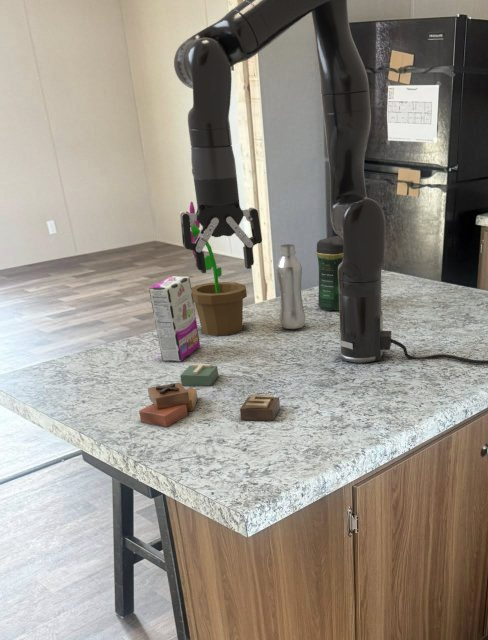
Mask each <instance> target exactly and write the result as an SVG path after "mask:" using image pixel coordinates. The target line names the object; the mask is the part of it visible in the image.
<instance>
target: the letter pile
mask: <svg viewBox="0 0 488 640" xmlns="http://www.w3.org/2000/svg"><path fill="white" fill-rule="evenodd" d="M147 393H148V398H149V400H150V402H151V403H152V404H150V405H148V406H146V407H144V408H141V409H139V411H138V414H139V418H140V419H139V420H140V422H141V423H145V424H150V425H154V426H160V427H164V428H168V427H170V426H171V425H173V424H175V423H176V422H178V421H181V420H182V419H184V418H185V417H187V416H188V412H193V411H194V410H195V407H196V405H197V402H198V391H197V388H185V387H184V385H182V383H181V382H179V381H178V382H173V383H172V382H171V383H168V384H162V385H157V386H153V387H148V388H147Z"/></svg>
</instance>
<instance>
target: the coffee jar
mask: <svg viewBox="0 0 488 640" xmlns="http://www.w3.org/2000/svg"><path fill="white" fill-rule="evenodd" d="M316 258H317V263H318V298H317V299H318V308H320V309H322V310H324V311H329V312H331V311H339V291H338V266H339V264H340V263H341V262H342V260H343V240H342V239H341V238H340V237H339V236H338V235H334V236H330V237H326V238H321V239H319V240H318V241H317V243H316Z"/></svg>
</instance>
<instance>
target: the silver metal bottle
mask: <svg viewBox="0 0 488 640" xmlns="http://www.w3.org/2000/svg"><path fill="white" fill-rule="evenodd" d="M295 246H296V245H295V244H291V243H289V244H288V243H287V244H280V245H279V255H280V257H279V259H278V261H277V263H276V265H275V273H276V279H277V284H278V289H279V296H280V297H279V298H280V300H279V301H280V302H279V303H280V307H279V308H280V311H279V322H280V325H281V326H282V328H284V329H287V330H296V329H301V328H303V327H304V326H305V324H306V312H305V309H304V304H303V298H302V275H303V268H302V264H301V262H300V261H299V259H298V258H297V257H296V247H295Z"/></svg>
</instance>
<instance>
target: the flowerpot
mask: <svg viewBox="0 0 488 640" xmlns="http://www.w3.org/2000/svg"><path fill="white" fill-rule="evenodd" d="M185 213H186V214H196V208H195V205H194V202H193V201H190V203H189V212H188V211H187V210H186V211H185ZM200 226H201V224H200V223H199V222H198V221H197V220H195V221H194V225H193V226H191V227H190V229H191V241H192V242H193V243H195V241H196V240H197V238H198V235H199V233H200V231H201V229H200ZM205 247H206V248H207V252H208V255H206V256H204V259H205V266H206V271H209V270H212V272H213V281H214V282H207V283H203V284H198V285H194V286H191V290H192V297H193V303H194V306H195V308H196V309H195V310H196V311H197V317H198V320H199V324H200V327H201V331H202V333H203V334H205V335H208V336H217V337H218V336H229V335H233V334H238V333H239V332H241V331H243V321H244V319H243V314H244V313H243V310H244V309H243V307H244V304H243V303H244V299H246V298H247V297H248V295H247V287H246V285H245V284H243V283H240V282H239V283H238V282H232V281H231V282H230V281H219V278H220V277H221V276H222V274H223V273H222V267H217V262H216V259H215V256H214V252H213V249H212V246H211V244H210V243H209V241H208V242H207V243H206V244H205ZM192 254H193V257H194V258H195V253H194V251H193V250H192Z"/></svg>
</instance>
